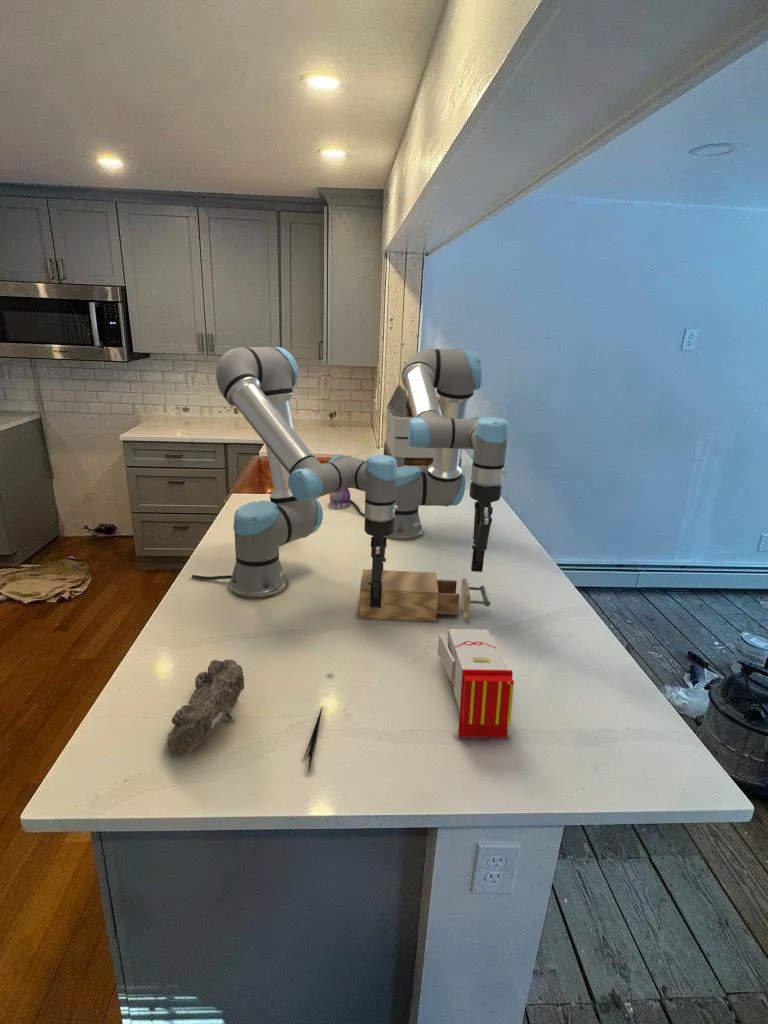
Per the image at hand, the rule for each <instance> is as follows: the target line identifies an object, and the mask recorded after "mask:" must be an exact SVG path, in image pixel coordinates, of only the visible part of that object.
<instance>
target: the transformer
mask: <svg viewBox="0 0 768 1024" xmlns="http://www.w3.org/2000/svg"><path fill="white" fill-rule="evenodd" d="M407 394H408V392H407V390H406V389H405V388H404V387H402V385H399V384H398V385H397V386H396V388H395V390H394V392H393V394H392V395H391V398H390V400H389V402H388V404H387V405H386V413H385V414H386V415H385V423H386V428H385V438H384V442H383V455H387V456H391V457H393V458H395V459H396V461H397V468H398V467H403V466H413V467H428V466H429V465H430V464H432V463H433V459H434V450H435V448H424V449H423V448H418V447H411V446H410V445H409V443H408V424H409V420H410V419H411V418H413V415H412V410H411V405H410V400H409V395H407ZM440 399H441V398H440V396H437V400H438V403H439V407H440ZM462 453H463V449H461V450H460V457H459V464H458V466H459V467H460V468H461V469H462V461H463V460H462Z"/></svg>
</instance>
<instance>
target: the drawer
mask: <svg viewBox="0 0 768 1024" xmlns="http://www.w3.org/2000/svg"><path fill="white" fill-rule="evenodd" d="M457 585H458V580H456V579H454V580H453V579H437V586H438V603H437V615H450V616H451V615H452V616H453V615H454V616H458V615H459V604H460V605H461V611H462V617H463V619H470V618H469V617H470V607H471V605H473V604H474V605H483V606H485V607H490V606H491V600H490V597H489V593H488V590H487V587H486V586H485V585H480V586H479V587H477V586H469V584H468V579H467V578H466V577H465V578H464V577H463V578H461V585H460V593H457ZM470 591H480V595H481V599H482V600H471V598H472V597H471V592H470Z"/></svg>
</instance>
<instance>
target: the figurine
mask: <svg viewBox="0 0 768 1024" xmlns="http://www.w3.org/2000/svg"><path fill="white" fill-rule="evenodd" d="M350 493H351V492H350V490H349V488H348V489H344V490H341V491H338V492H334V493H330V494H329V500H330V501H329V506H330V508H331V509H344V508H345V509H346V508H347V507H349V506H350V503H351V502H350V500H351V494H350Z"/></svg>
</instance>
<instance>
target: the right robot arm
mask: <svg viewBox="0 0 768 1024" xmlns="http://www.w3.org/2000/svg"><path fill="white" fill-rule="evenodd" d="M482 370H483V369H482V361H481V358H480V355H479V353H478V352H477V351H475V350H468V349H465V348H464V349H453V348H452V349H450V348H449V349H447V348H446V349H444V348H426V349H421V350H419V351H417V352H415V353H414V354H413V355H411V356H410V357H409V358H408V359H407V360H406V362H405V363H404V365H403V367H402V370H401V382H402V386H403V388H404V390H406V392H407V394H408V395H407V396H409V400H410V405H411V410H412V415H413V418H411V419H410V420H409V424H408V443H409V445H410V446H411V447H418V448H423V449H424V448H435V450H434V459H433V463H432V464H430V465H428V466H427V471H422V469H421V468H420V466H407V465H404V466H403V467H398V468H397V483H396V494H395V498H396V499H395V505H396V506H397V507H398V509H395V516H394V520H395V523H394V533H393V534H392V535H390V536H385V537H387V539H389V540H395V541H410V540H415V539H418V538H420V537H421V536H422V535H423V525H422V524H421V518H420V515H419V507H420V506H429V507H431V506H432V507H433V506H435V507H436V506H437V507H454V506H455V507H456V506H458V505H459V504H460V503H461V502H462V500H463V498H464V496H465V491H466V476H465V474H464V473H463V470H462V467H461V468H460V467H459V466H458V464H459V457H460V450H461V449H462V450H473V455H472V464H471V473H470V481H471V482H470V485H469V495H468V496H469V498H470V499H472V500H474V501H475V502H474V506H473V507H474V520H473V533H472V540H473V542H472V543H473V544H472V545H471V549H472V556H471V566H470V571H471V572H475V573H483V570H484V560H485V559H484V558H485V553H486V550H487V549H488V542H489V537H490V532H491V526H492V522H493V517H492V515H493V506H492V503H494V502H498V501H500V499H501V497H502V496H501V495H502V487H503V486H502V483H503V478H504V476H503V475H505V474H506V473H507V471H506V470H505V469H504V468H505V463H506V454H507V446H508V440H509V422H508V421H507V420H506V419H504V418H500V417H490V416H488V417H487V416H484V417H483V416H482V417H481V416H473V417H470V418H466V414H467V408H468V402H469V400H470V399H472V398H473V397H474V392H475V391H477V390H480V389H481V386H482V379H483V371H482ZM437 395H438V396H437ZM437 397H440V398H441V399H440V407H439V403H438V400H437ZM350 503H351V504H352V505H353V506H354V507H355V508H356V511H357V512H358V513H359V514H360V515H361V516H363V517H365V513H363V512H362V511H361V510H360V508H359V506H358V505H357V504H356V503H355V502H354V500H351V499H350Z"/></svg>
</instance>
